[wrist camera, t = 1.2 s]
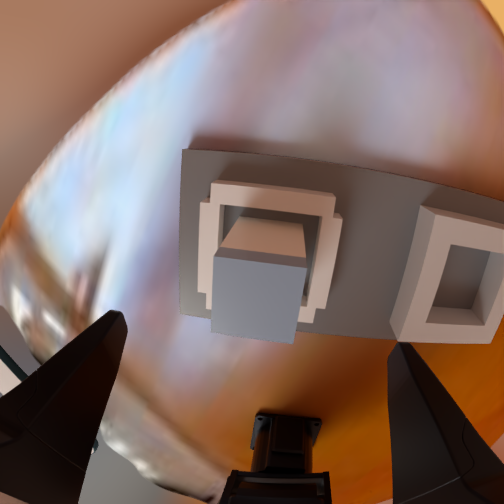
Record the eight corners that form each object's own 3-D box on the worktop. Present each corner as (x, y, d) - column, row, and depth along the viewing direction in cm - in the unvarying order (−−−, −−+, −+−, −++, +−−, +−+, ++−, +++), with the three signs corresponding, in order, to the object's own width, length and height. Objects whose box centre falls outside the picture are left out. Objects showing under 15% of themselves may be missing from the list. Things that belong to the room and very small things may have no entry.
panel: (478, 336, 22) (494, 359, 19) (183, 307, 24) (168, 332, 21) (521, 207, 18) (547, 218, 14) (187, 148, 20) (167, 151, 17)
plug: (294, 281, 21) (293, 343, 15) (235, 273, 21) (210, 332, 15) (302, 223, 20) (307, 268, 13) (239, 216, 20) (213, 256, 13)
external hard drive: (106, 441, 35) (101, 450, 33) (81, 453, 39) (76, 461, 37) (-12, 325, 31) (-21, 332, 29) (-19, 356, 35) (-26, 363, 33)
